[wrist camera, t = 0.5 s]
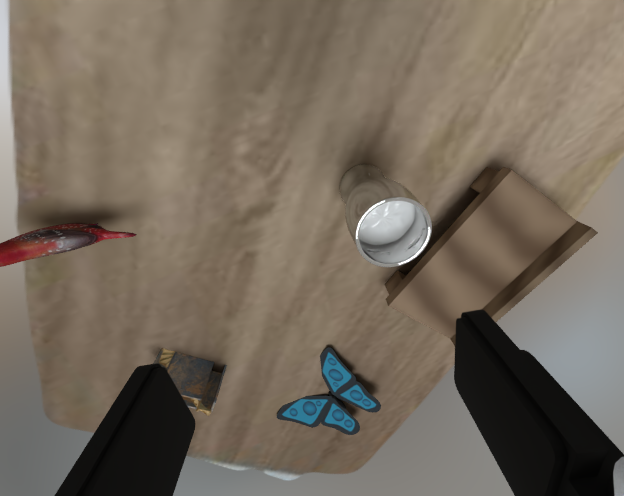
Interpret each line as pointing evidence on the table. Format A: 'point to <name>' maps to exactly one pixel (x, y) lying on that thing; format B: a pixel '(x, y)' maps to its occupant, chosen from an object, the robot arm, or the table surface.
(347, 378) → the decorative butterfly
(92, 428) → the table surface
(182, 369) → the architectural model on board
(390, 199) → the beer glass
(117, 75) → the table surface
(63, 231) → the decorative bird figurine
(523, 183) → the display ledge
